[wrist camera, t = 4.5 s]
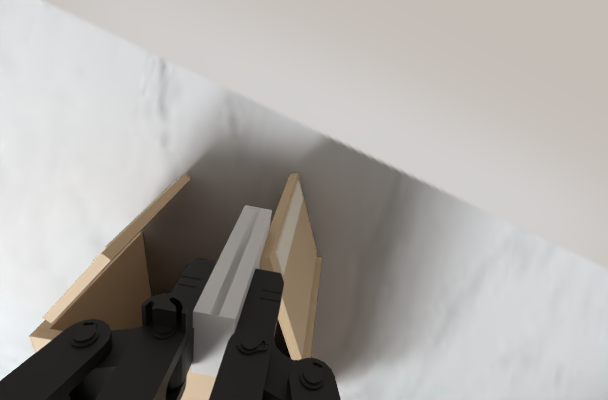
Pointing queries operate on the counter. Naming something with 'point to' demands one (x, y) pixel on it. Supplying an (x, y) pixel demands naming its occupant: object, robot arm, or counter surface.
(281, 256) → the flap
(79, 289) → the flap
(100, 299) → the carton
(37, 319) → the counter surface
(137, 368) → the robot arm
